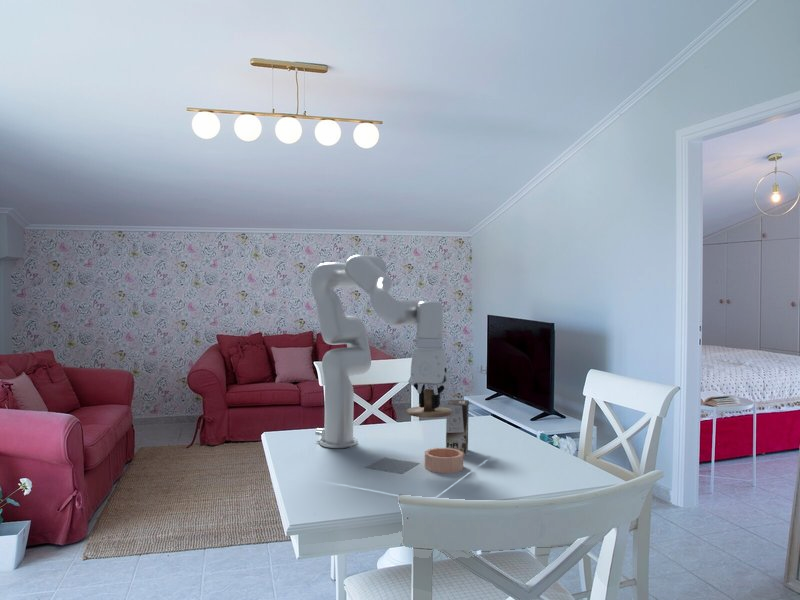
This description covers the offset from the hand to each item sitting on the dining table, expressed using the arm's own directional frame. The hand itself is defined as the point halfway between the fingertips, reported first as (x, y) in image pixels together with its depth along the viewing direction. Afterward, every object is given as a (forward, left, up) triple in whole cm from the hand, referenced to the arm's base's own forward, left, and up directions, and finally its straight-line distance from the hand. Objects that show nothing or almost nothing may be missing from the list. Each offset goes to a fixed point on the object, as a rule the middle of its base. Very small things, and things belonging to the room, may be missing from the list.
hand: (429, 406), depth 181 cm
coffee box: (+1, +20, -18) cm, 27 cm away
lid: (0, 0, -2) cm, 2 cm away
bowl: (+4, +2, -18) cm, 18 cm away
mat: (-10, -4, -18) cm, 21 cm away
